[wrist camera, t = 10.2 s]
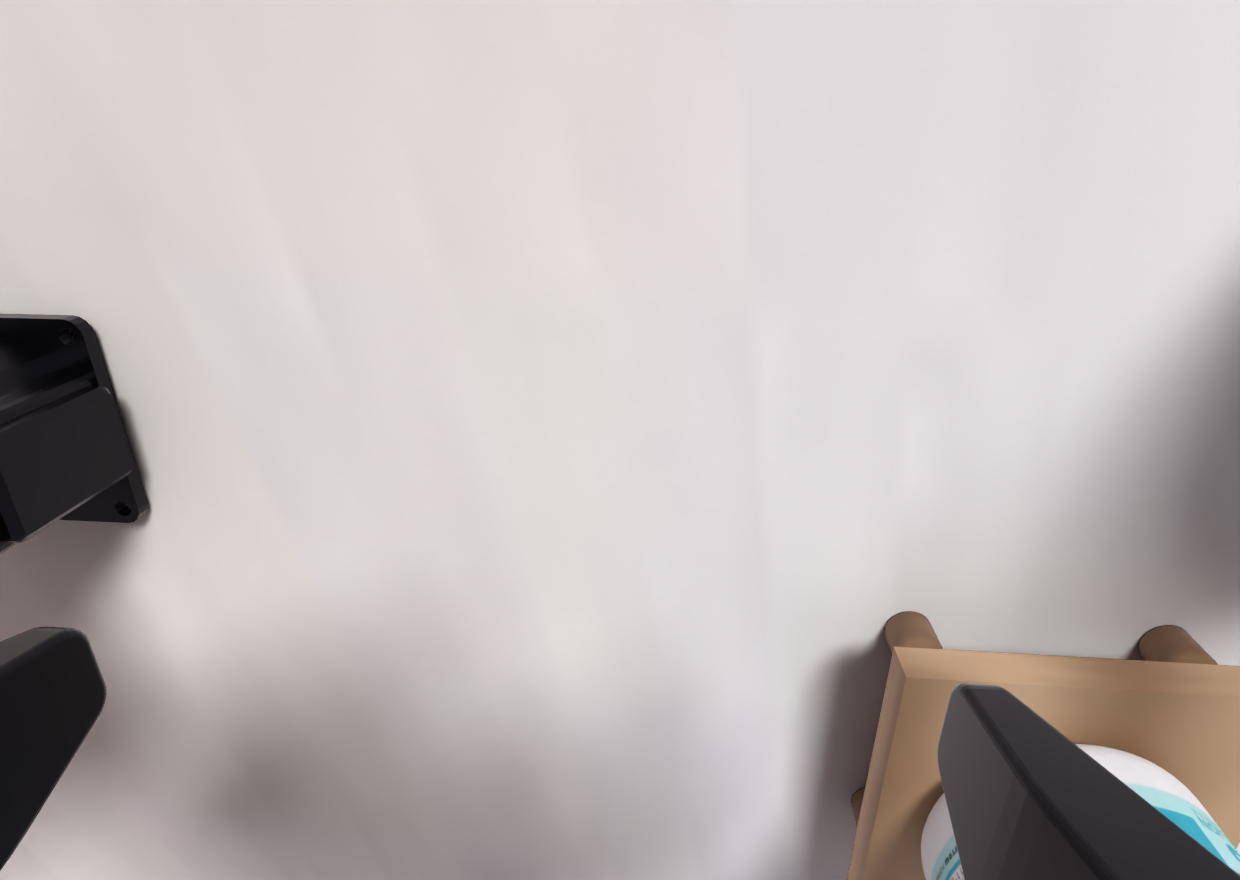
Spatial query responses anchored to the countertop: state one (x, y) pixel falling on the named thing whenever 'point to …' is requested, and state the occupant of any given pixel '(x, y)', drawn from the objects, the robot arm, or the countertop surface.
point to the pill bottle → (1128, 768)
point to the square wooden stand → (1069, 701)
